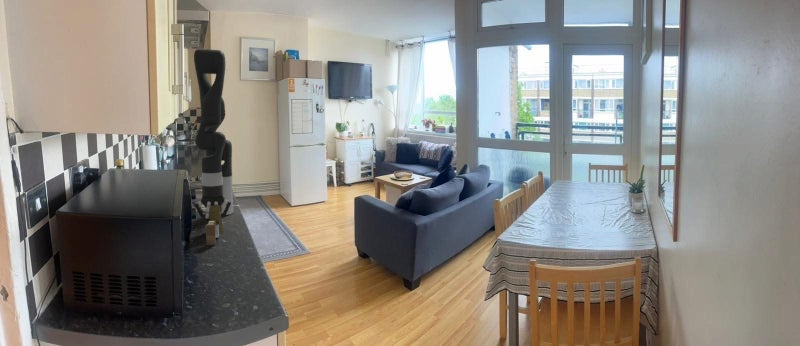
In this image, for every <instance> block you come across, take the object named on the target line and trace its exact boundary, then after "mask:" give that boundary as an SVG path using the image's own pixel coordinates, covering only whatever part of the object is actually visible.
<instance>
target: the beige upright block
mask: <svg viewBox="0 0 800 346" xmlns="http://www.w3.org/2000/svg"><path fill="white" fill-rule="evenodd" d="M213 223H214V221H209V223H208V224H206V223H205V242H206V246H216V245H217V244H216V243H217V241H216V236H215V224H213Z"/></svg>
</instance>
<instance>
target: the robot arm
mask: <svg viewBox="0 0 800 346" xmlns="http://www.w3.org/2000/svg"><path fill="white" fill-rule="evenodd" d="M225 55H226V54H225V53H224V52H223V50H220V49H205V48H198V49H196V50H195V51H194V53H193V63H194V68H195V74H196V78H197V83H198V90H199V91H198V92H199V101H200V124H199V126H198V127H199V128H198V130H197V133H196V136H195V140H194V141H195V143H194V144H195V146H196V148H197V149H199V150H200V151H205V156H204V157H202V158H201V181H200V182H201V196H202V197H201V199H200V200H199V201H195V202H194V204H193V205H194V208H195V209H196V211H197V213H198V215H199V216H200V218H205V225H206V224H207V222H209V208H210V206H211V205H215V206H218V207H219V206H222V211H221V213H219V214H220V218H221V217H227V215H232V214H234V194H233V193H234V191H233V190H234V189H233V164H232V162H233V158H232V157H233V145H232V142H231V141H230V140H229V139H227V138H226V135H225V134H224V133H223V132H222V131H217V130H218V129H219V127H220V126H221V125H222V124H223V122H224V120H225V118H226V105H225V101H224V99H223V97H222V96H223V92H224V91H223V90H224V84H225V75H226V57H225ZM207 74H208V75H215V78H214V81H213V84H211V82H210V80H209V78H208V75H207ZM222 161H224V162H223V164H222ZM202 205H203V206H204V207H205V208H206V210H205V212H204V211H203V208H202ZM208 207H209V208H208Z"/></svg>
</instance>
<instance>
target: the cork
mask: <svg viewBox="0 0 800 346" xmlns="http://www.w3.org/2000/svg"><path fill="white" fill-rule="evenodd" d="M208 208H209V207H208ZM221 211H222V206H219V207H218V206H215V205H211V206H210V208H209V221H216V222H218V221H220V234H221V232H222V233H223V231H224V223H223V218H222V217H221V218H220V214H219V213H221ZM224 232H225V231H224Z"/></svg>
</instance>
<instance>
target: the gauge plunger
mask: <svg viewBox="0 0 800 346" xmlns="http://www.w3.org/2000/svg"><path fill="white" fill-rule="evenodd" d="M208 223H209V222H207V224H208ZM213 224H215V236H216V238H219V237H220V235H221V233H220V221H218V222H216V221H214V223H213Z"/></svg>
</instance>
